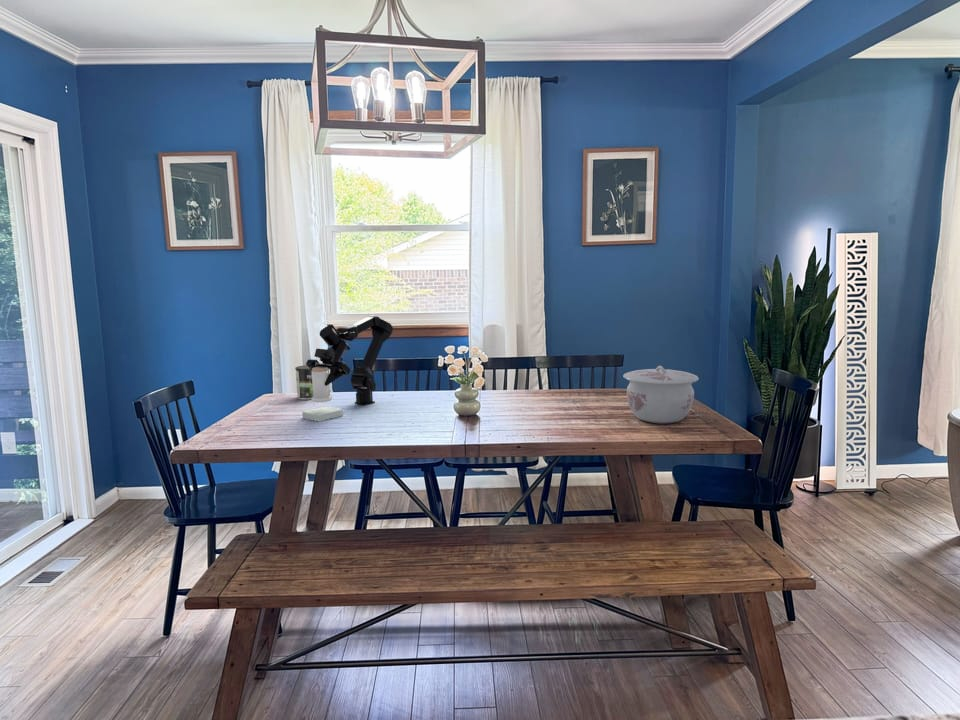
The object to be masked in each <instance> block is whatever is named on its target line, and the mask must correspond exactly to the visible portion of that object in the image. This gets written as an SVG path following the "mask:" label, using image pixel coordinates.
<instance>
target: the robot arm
mask: <svg viewBox="0 0 960 720" xmlns="http://www.w3.org/2000/svg"><path fill="white" fill-rule="evenodd" d="M369 329H370V330H371V336H372V339H371V341H370V344H369V346H368V348H367V349H366V350H367V351H366V353H365V356H364V357H363V360H362V362H361V365H360V366H355V367H354V368H353V370H352V373H351V368H350V367H349V365H347V363H346V362H345V361H343V358H342V357H343V356H344V354H345V351H351V347H350V344H349V343H347V342H353V341H355V340H356V339H357V338H358V337H359V334H361V333H362V332H364V331H367V330H369ZM393 331H394V327H393V325H392V323H390V322H388V321H386V320H385V319H382V318H381V317H379V316H377V315H367V316H366V317H365V318H362V319H361V320H358V321H356V322H354V323H352V324H350V325H349V324H348V325H342V326H339V327H338V328H337V329H336V328H335V326H334V325H333V324H327V326H325V327H323V328H322V329H321V330H320V331H319V336H320V338H321V339H322V341H324V342H325V344H327V346H330V347H328V348H327V349H324V348H316V349H315V352H314V357H315V358H318V359H319V361H320V362H319V361H318V360H317V359H313V358H311V359H310V358H308V359H307V361H306V363H305V365H307V366H308V367H309V368H310V369H311V370H312V368H314V367H328V370H329V375H328V377H327V379H326V382H325V386H327V385H329V384H330V385H331V384H332V383H333V382H335V381H336V380H337V379H339V378H341V377H344V376H349V374H350V373H351V374H350V375H351V376H350V384H351V386H352V389H353V390H355V391H356V392H355V401H354V404H358V405H361V406H365V405H370V404H375V403H376V401H374V399H373V397H374V396H373V391H374V390H376V387H377V384H376V382H375V381H374V380H373V371H372V370H373V367H374V365H375V363H376V360H377V358H378V355H379V353H380V351H381V350H382V346H383V344H384V342H386V341H387V340H388V339H389V338H390V337H391V335H392V333H393ZM311 384H312V379H311Z"/></svg>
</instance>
